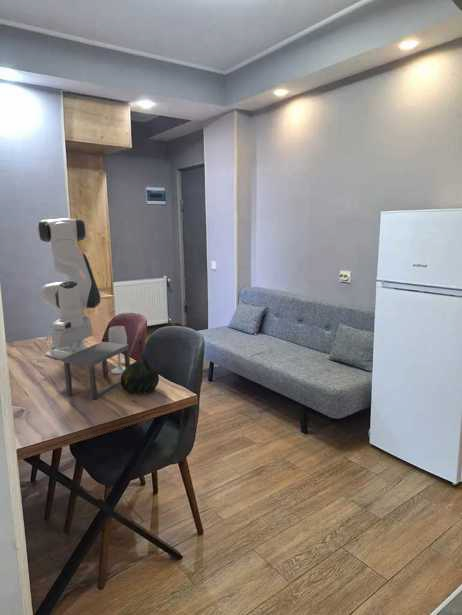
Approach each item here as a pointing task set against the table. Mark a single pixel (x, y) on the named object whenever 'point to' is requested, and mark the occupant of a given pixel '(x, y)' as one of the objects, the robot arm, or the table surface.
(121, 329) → the wineglass
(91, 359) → the side table
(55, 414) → the table surface
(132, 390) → the squash
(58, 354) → the tray
